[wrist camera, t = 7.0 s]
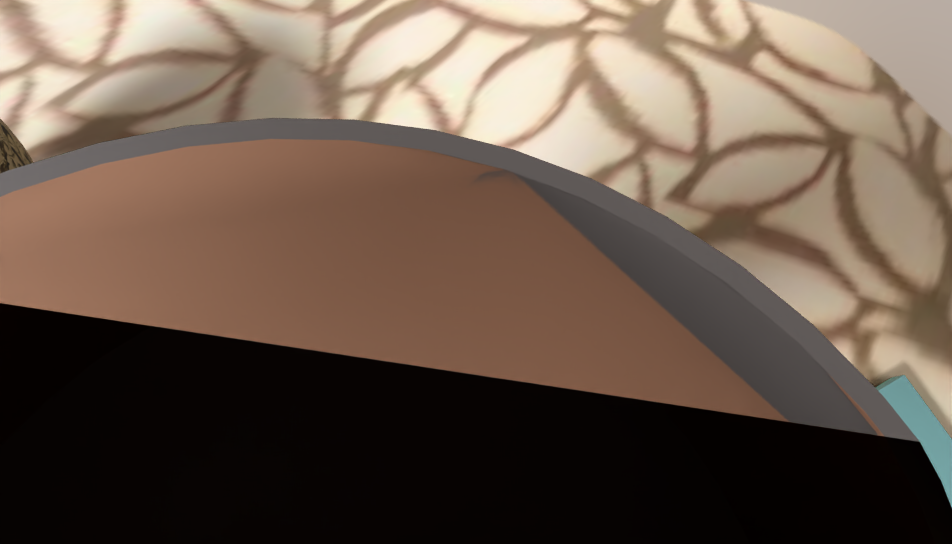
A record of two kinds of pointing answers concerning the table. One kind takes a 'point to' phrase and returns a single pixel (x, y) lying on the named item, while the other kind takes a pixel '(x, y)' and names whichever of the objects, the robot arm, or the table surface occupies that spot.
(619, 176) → the table surface
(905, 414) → the mat
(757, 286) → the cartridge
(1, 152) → the cup
